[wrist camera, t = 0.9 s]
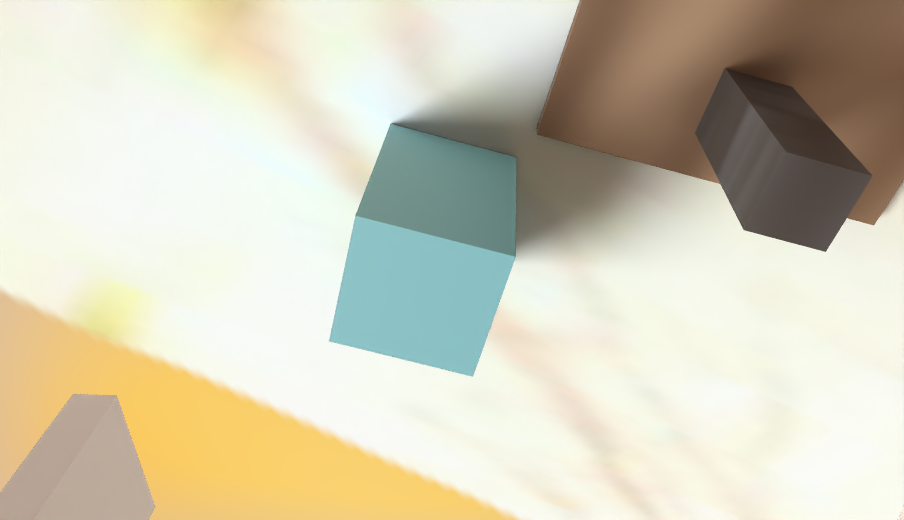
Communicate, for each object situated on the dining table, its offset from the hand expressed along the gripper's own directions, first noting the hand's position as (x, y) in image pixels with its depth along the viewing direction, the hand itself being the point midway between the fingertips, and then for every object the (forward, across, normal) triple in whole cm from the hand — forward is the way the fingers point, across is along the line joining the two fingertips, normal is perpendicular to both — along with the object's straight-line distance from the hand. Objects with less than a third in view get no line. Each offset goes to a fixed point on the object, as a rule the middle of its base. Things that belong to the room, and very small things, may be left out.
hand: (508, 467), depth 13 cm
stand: (+19, +10, +3) cm, 22 cm away
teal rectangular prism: (+19, -3, -5) cm, 20 cm away
